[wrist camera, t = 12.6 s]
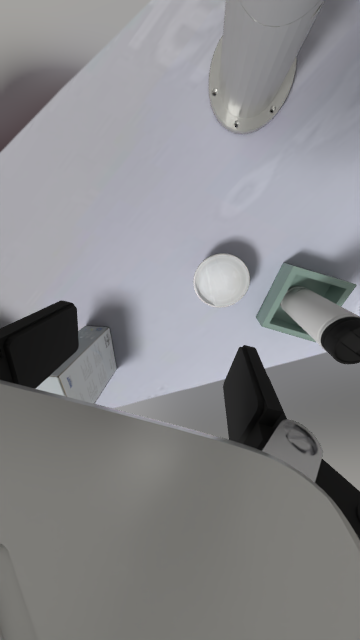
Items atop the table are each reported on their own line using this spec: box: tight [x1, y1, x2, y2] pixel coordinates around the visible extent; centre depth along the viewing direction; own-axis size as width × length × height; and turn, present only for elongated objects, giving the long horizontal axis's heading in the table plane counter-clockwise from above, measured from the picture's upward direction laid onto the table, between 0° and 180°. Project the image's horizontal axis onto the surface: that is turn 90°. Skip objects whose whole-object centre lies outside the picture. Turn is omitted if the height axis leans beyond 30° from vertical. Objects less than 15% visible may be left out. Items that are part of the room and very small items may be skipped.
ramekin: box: [193, 253, 250, 307], centre depth 39 cm, size 11×11×5 cm
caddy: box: [256, 262, 356, 342], centre depth 39 cm, size 13×12×5 cm
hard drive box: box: [36, 326, 117, 404], centre depth 46 cm, size 16×8×20 cm, turn 0°
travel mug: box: [280, 286, 360, 364], centre depth 32 cm, size 6×7×20 cm
